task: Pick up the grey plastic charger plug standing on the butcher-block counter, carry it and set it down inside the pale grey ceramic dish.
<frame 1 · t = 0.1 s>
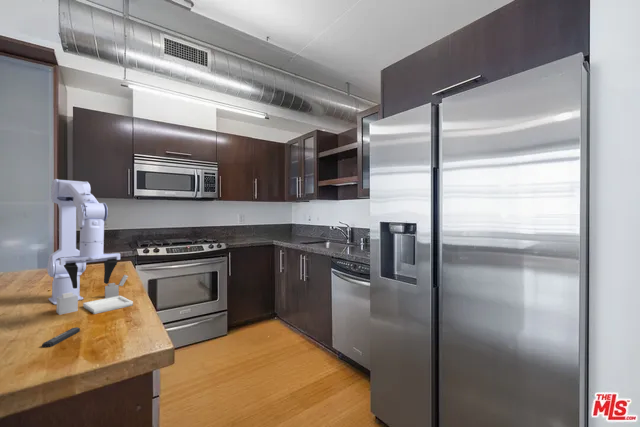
hand: (91, 285, 86), 10 cm above the counter, tool pointing down, fingers open, 7 cm apart
lighter: (116, 296, 108), on the counter
plug: (67, 311, 91), on the counter
dish: (108, 306, 97), on the counter
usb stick: (62, 340, 72), on the counter
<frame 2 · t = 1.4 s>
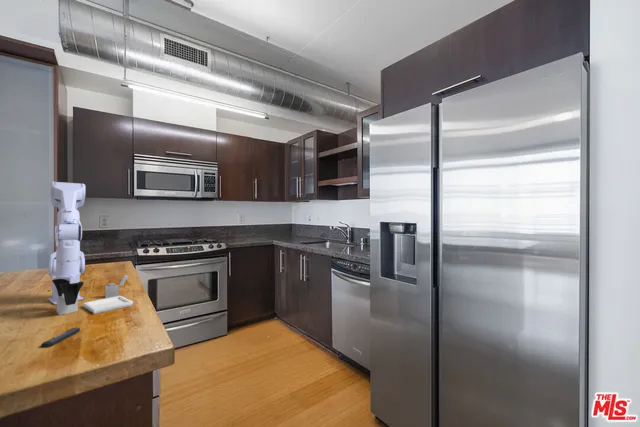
hand: (67, 302, 91), 3 cm above the counter, tool pointing down, fingers open, 7 cm apart
nothing on the counter moved.
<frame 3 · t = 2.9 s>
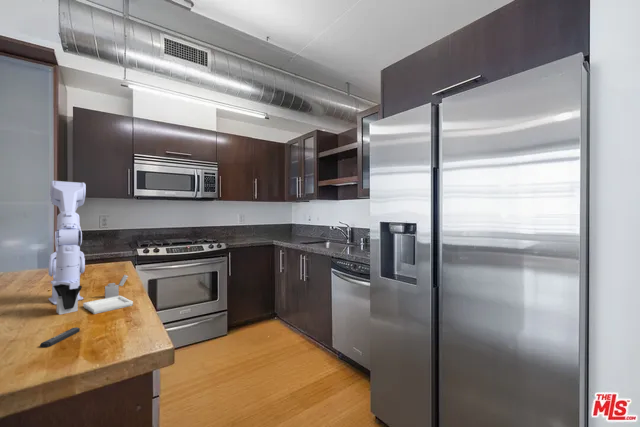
hand: (67, 307, 91), 1 cm above the counter, tool pointing down, fingers closed on plug, 3 cm apart
plug: (67, 311, 91), on the counter, touching gripper
everything else where it was.
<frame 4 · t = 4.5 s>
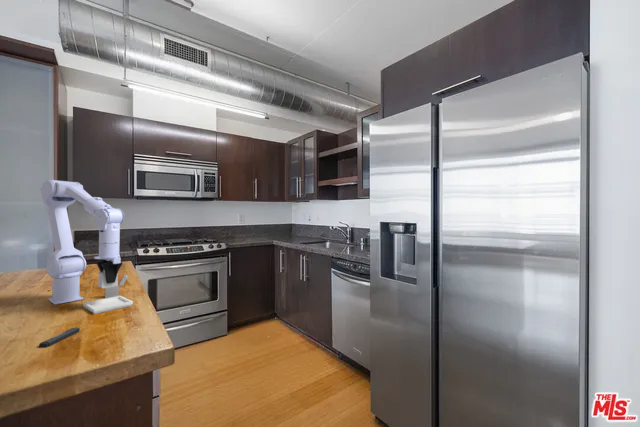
hand: (108, 282, 97), 8 cm above the counter, tool pointing down, fingers closed on plug, 3 cm apart
plug: (108, 286, 97), point 7 cm above the counter, touching gripper
everything else where it was.
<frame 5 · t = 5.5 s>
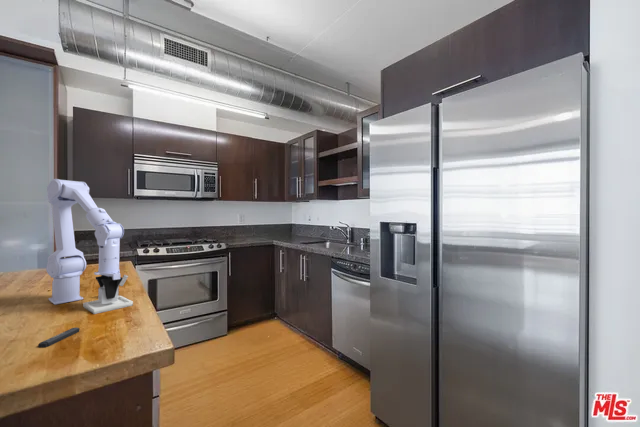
hand: (108, 297, 97), 3 cm above the counter, tool pointing down, fingers closed on plug, 3 cm apart
plug: (107, 301, 97), point 2 cm above the counter, touching gripper
everything else where it was.
when the fingers open (3 cm above the counter, at t = 6.3 s): plug stays where it is, resting on dish.
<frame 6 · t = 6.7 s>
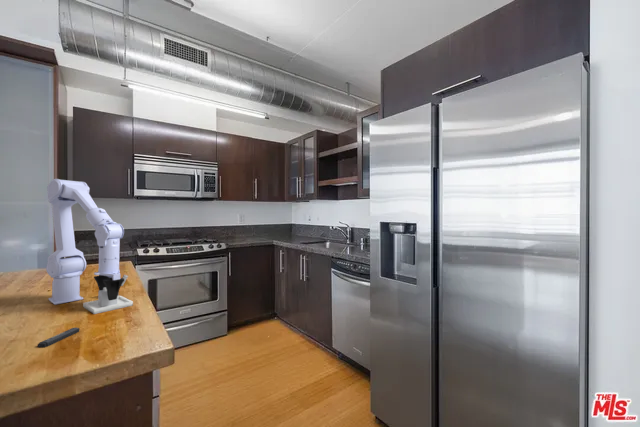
hand: (108, 297, 97), 3 cm above the counter, tool pointing down, fingers open, 7 cm apart
plug: (107, 304, 97), point 1 cm above the counter, touching dish
everything else where it was.
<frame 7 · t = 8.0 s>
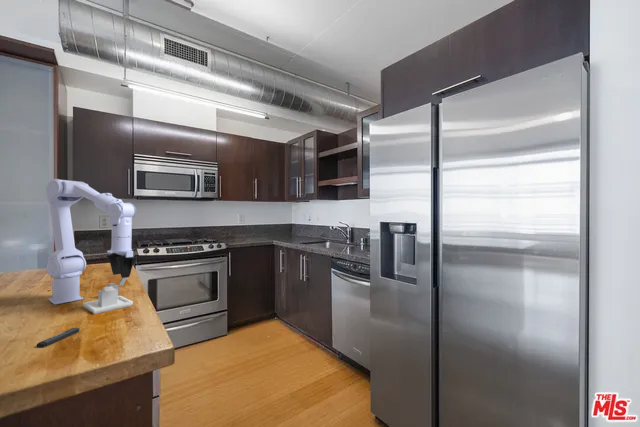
hand: (121, 275, 97), 10 cm above the counter, tool pointing down, fingers open, 7 cm apart
nothing on the counter moved.
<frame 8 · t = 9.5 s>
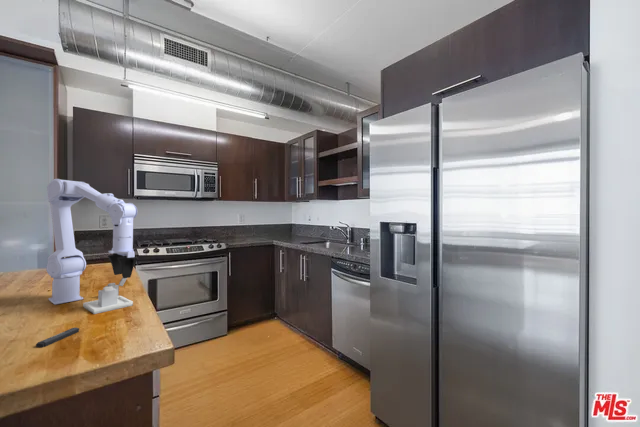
hand: (122, 276, 97), 10 cm above the counter, tool pointing down, fingers open, 7 cm apart
nothing on the counter moved.
at the end: plug inside the target area on the dish (0.1 cm from its centre), point 0.6 cm above the dish's base; the gripper is holding nothing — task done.
